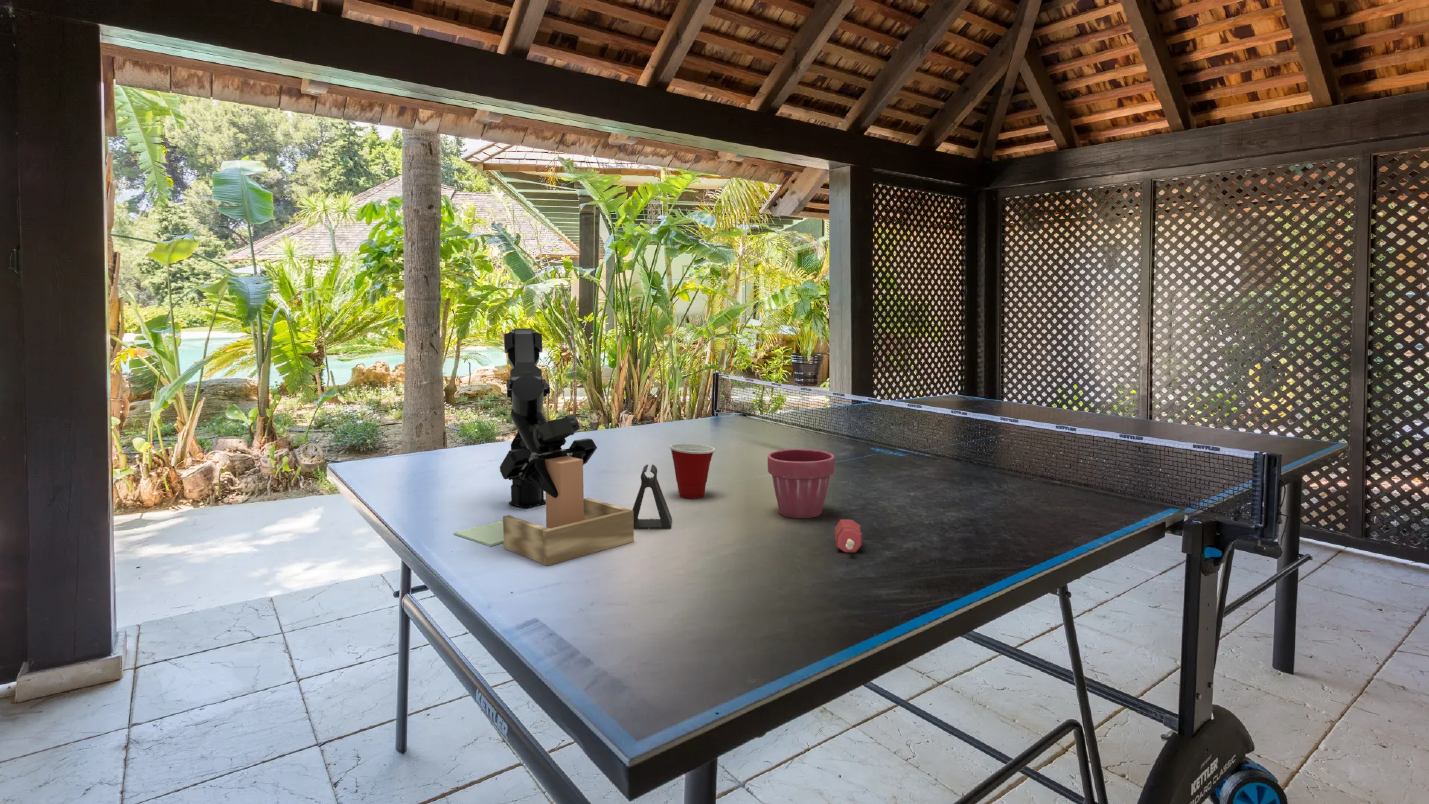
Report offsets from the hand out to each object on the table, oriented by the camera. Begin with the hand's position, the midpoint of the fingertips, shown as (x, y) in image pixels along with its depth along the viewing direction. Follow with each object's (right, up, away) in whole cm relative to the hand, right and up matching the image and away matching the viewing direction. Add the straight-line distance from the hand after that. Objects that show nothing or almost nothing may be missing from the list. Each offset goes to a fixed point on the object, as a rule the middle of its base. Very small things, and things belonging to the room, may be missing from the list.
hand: (568, 494), depth 142 cm
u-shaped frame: (0, -10, +1) cm, 10 cm away
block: (-1, -7, +2) cm, 7 cm away
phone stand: (+14, -8, +14) cm, 22 cm away
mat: (-15, -9, +8) cm, 20 cm away
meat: (+52, -10, -1) cm, 53 cm away
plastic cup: (+22, -5, +38) cm, 45 cm away
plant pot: (+46, -7, +23) cm, 52 cm away
